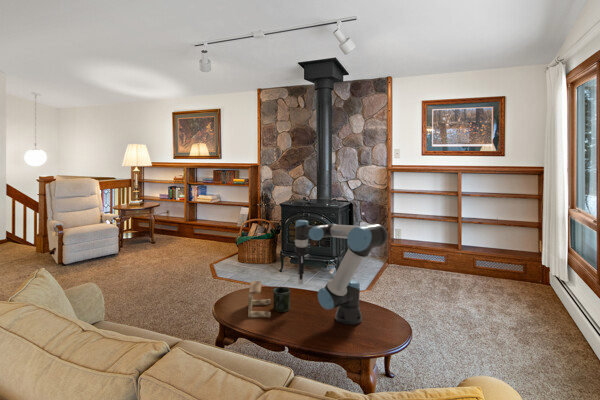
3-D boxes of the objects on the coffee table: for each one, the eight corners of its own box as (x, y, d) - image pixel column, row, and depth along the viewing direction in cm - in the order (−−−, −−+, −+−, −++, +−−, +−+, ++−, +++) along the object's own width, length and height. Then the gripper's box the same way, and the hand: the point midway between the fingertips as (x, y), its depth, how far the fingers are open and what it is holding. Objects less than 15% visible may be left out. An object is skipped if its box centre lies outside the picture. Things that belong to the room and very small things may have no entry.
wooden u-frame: (270, 303, 228) (270, 280, 226) (270, 317, 206) (270, 292, 205) (250, 303, 227) (250, 280, 225) (248, 318, 205) (248, 292, 204)
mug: (292, 306, 223) (292, 287, 222) (286, 315, 209) (286, 296, 208) (275, 304, 226) (275, 286, 225) (268, 313, 212) (268, 294, 211)
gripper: (294, 243, 221) (293, 280, 223) (295, 248, 208) (295, 287, 210) (306, 243, 222) (305, 280, 224) (308, 248, 209) (307, 287, 211)
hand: (300, 283), depth 217 cm, fingers closed
